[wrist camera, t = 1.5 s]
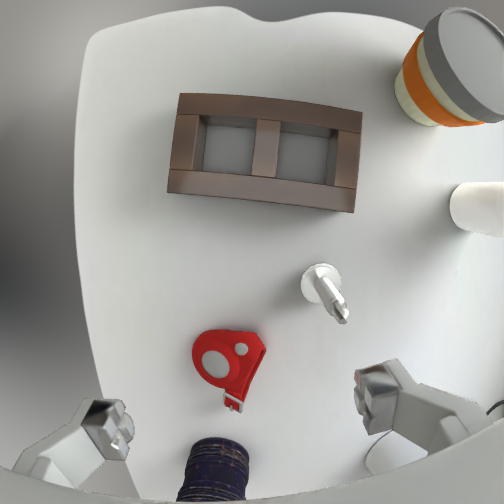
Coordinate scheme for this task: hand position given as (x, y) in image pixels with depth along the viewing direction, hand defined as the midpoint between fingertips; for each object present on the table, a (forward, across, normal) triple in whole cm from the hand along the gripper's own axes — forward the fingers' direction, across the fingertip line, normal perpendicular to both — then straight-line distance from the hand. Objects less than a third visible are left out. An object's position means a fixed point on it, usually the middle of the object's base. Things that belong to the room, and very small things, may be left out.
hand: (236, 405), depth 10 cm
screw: (+27, +8, -7) cm, 29 cm away
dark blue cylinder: (+25, -10, -35) cm, 44 cm away
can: (+27, +31, -1) cm, 41 cm away
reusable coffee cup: (+29, +27, +15) cm, 42 cm away
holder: (+29, +4, +8) cm, 31 cm away
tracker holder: (+27, -5, -17) cm, 32 cm away
